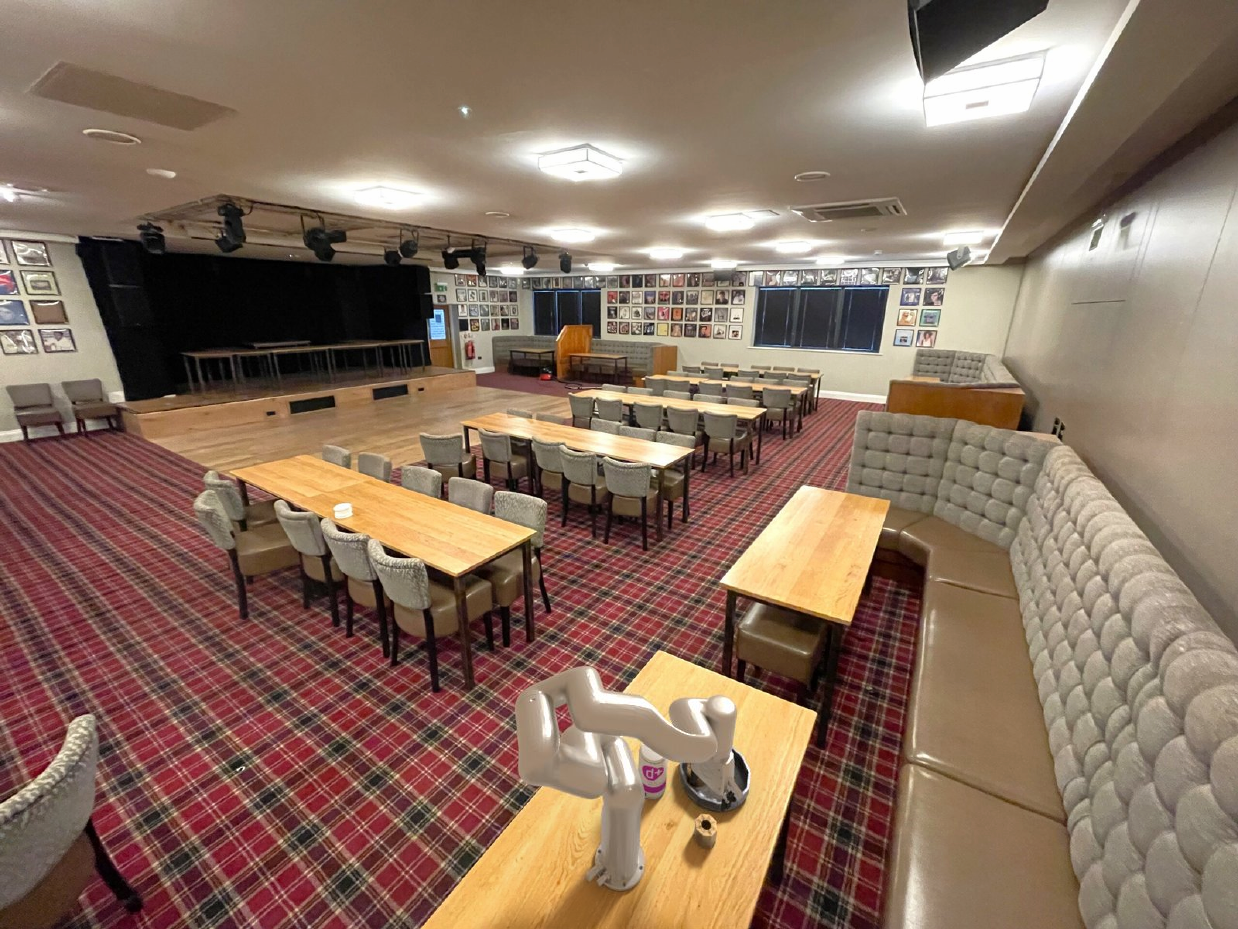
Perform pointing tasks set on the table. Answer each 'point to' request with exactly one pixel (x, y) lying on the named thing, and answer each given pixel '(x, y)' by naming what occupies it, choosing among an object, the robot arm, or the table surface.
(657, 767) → the supplement can
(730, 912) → the table surface
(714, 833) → the tan hollow faceted cylinder
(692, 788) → the tray
